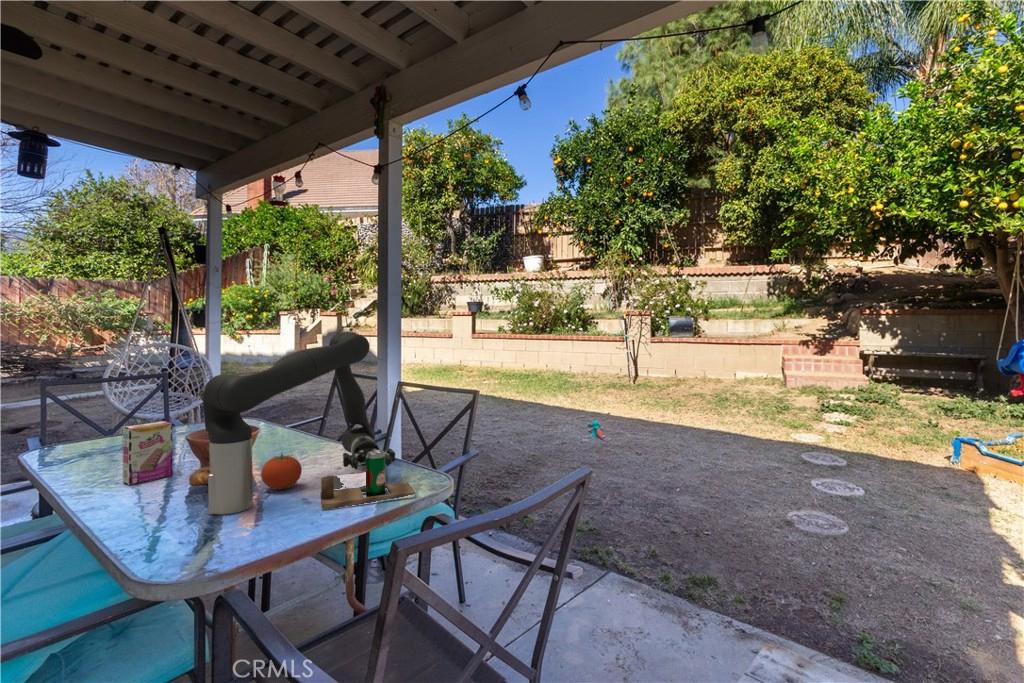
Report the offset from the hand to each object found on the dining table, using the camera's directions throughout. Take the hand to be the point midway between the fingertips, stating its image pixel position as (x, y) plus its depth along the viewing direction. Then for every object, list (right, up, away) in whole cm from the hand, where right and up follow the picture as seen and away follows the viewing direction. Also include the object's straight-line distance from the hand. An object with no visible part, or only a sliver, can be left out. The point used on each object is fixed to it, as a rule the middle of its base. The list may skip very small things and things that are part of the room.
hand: (372, 464), depth 135 cm
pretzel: (-50, -7, +10) cm, 52 cm away
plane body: (0, -8, -5) cm, 9 cm away
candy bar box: (-68, -7, +9) cm, 69 cm away
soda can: (+2, -8, -4) cm, 9 cm away
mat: (-9, -7, +8) cm, 14 cm away
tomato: (-26, -8, +2) cm, 27 cm away
